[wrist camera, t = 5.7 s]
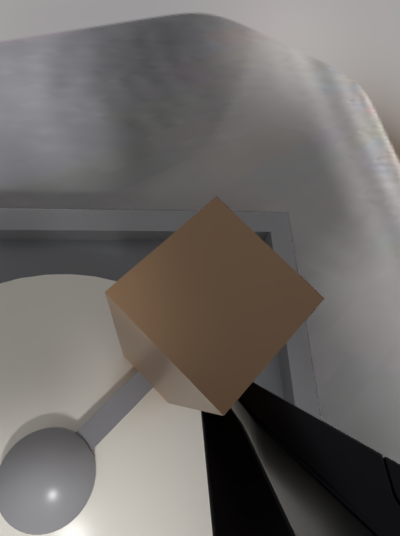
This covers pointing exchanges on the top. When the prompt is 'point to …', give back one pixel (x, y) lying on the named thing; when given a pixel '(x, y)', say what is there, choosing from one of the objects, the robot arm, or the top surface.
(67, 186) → the top surface
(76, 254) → the dial board
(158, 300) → the dial
